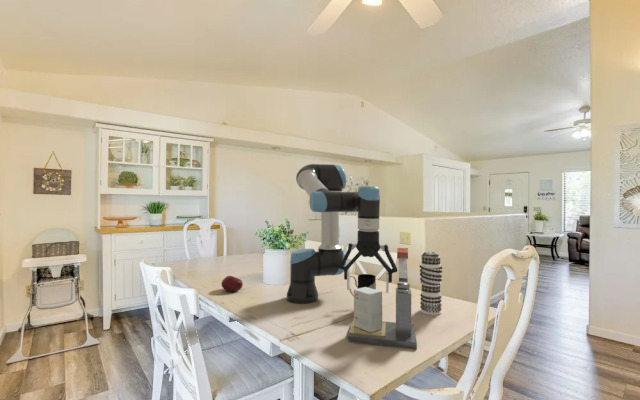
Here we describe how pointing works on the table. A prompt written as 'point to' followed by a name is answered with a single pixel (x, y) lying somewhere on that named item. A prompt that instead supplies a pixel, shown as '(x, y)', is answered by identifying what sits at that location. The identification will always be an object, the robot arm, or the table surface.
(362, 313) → the small box
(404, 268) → the lever
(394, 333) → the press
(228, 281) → the heart
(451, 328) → the table surface
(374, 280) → the glass holder
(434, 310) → the decorative candle
